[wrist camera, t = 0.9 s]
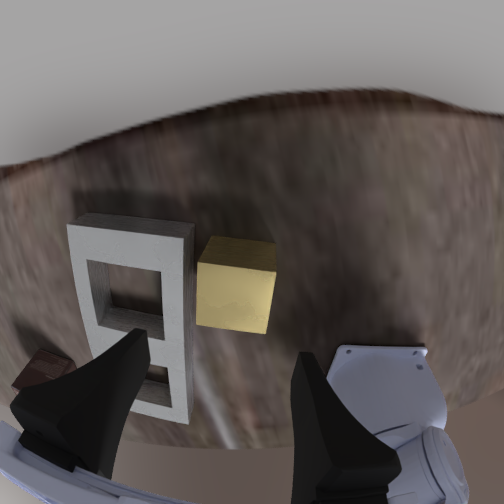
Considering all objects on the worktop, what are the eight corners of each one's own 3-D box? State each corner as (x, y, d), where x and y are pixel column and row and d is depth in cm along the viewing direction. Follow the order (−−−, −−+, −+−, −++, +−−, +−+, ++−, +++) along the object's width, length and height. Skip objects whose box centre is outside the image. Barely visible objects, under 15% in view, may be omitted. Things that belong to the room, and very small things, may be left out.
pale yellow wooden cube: (275, 242, 21) (276, 272, 17) (267, 297, 23) (265, 334, 19) (212, 234, 21) (197, 262, 17) (209, 289, 23) (196, 324, 19)
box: (39, 346, 28) (8, 384, 21) (75, 360, 28) (45, 404, 21) (53, 379, 31) (28, 416, 24) (88, 392, 30) (65, 434, 24)
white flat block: (195, 223, 21) (183, 238, 18) (194, 403, 29) (188, 424, 26) (88, 212, 21) (66, 224, 18) (118, 385, 29) (108, 403, 26)
